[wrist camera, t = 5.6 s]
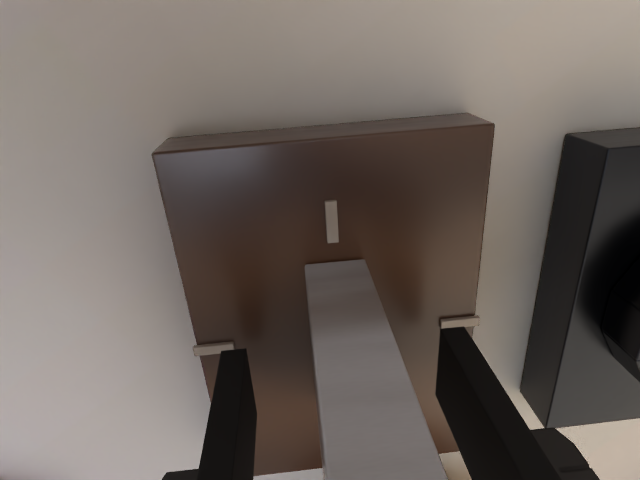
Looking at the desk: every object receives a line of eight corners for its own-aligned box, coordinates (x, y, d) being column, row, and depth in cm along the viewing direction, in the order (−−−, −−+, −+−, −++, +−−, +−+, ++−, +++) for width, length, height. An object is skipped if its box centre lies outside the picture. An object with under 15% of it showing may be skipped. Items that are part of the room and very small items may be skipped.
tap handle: (304, 263, 14) (331, 519, 7) (364, 258, 14) (459, 504, 7) (315, 400, 17) (344, 694, 9) (367, 394, 17) (436, 681, 9)
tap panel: (164, 138, 14) (144, 154, 12) (472, 112, 14) (502, 123, 12) (231, 440, 20) (226, 483, 18) (446, 415, 20) (464, 454, 18)
